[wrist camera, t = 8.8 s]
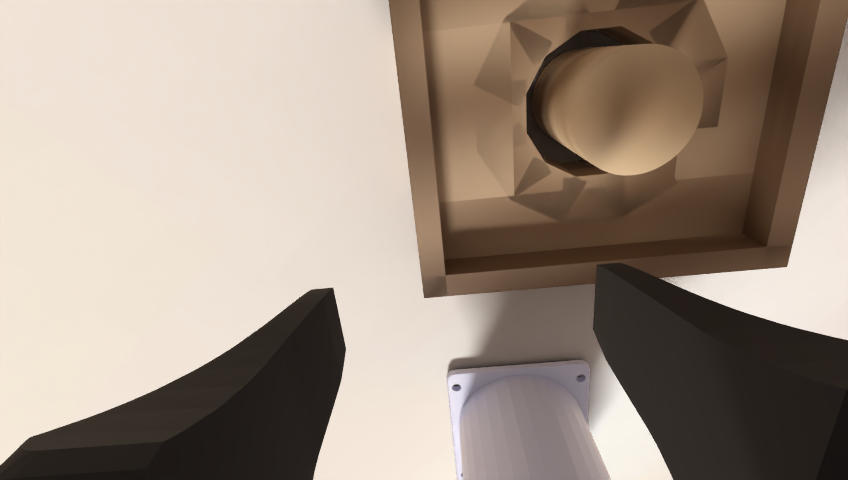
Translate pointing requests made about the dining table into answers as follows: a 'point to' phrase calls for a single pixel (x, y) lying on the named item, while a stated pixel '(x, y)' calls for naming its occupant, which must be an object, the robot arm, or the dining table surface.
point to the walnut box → (582, 181)
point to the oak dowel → (620, 105)
